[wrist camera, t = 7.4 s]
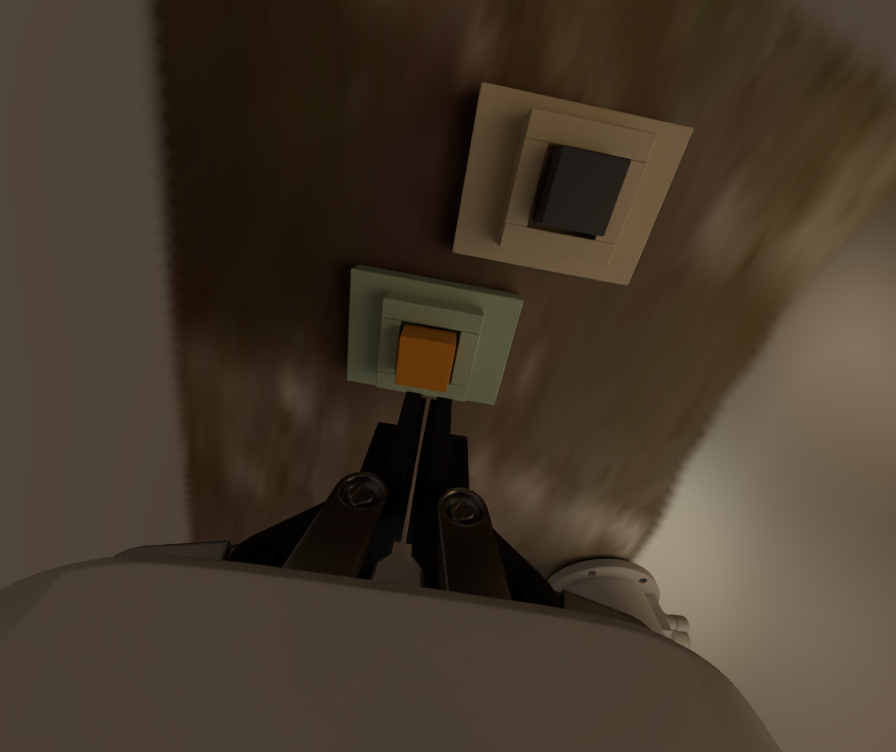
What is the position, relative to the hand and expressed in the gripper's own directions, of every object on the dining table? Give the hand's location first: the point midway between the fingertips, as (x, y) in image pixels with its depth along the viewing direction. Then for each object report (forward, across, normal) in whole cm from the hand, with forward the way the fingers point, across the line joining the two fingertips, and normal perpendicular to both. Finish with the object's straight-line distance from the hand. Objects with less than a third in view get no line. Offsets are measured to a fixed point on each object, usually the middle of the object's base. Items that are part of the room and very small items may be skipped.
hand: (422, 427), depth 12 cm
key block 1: (+13, 0, +1) cm, 13 cm away
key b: (+9, +1, +1) cm, 10 cm away
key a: (+10, -5, -9) cm, 14 cm away
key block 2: (+13, -5, -9) cm, 16 cm away
